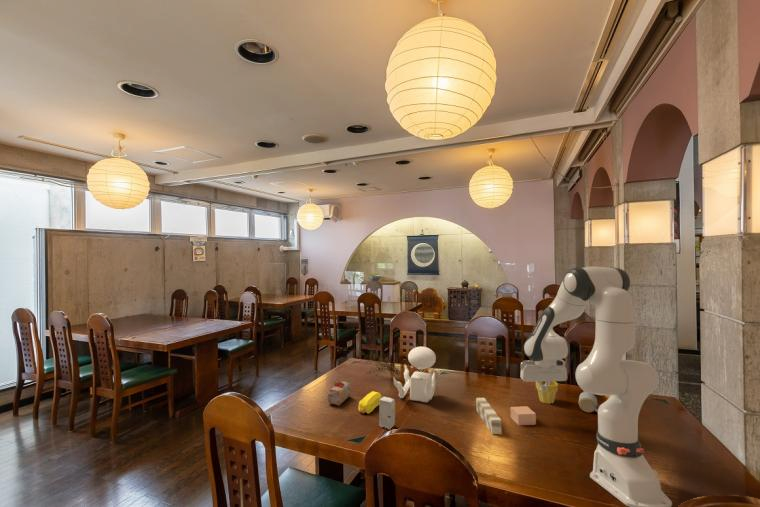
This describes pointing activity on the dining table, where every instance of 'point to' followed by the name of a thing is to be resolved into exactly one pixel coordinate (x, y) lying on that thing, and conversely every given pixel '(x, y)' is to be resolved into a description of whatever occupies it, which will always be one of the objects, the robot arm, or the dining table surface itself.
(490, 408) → the white segmented block row
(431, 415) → the dining table surface
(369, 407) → the yellow rounded capsule
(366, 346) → the dried plant
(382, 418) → the skincare box
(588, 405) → the ceramic mug
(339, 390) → the food item
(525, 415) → the peach block
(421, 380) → the figurine
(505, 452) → the dining table surface
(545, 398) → the plant pot
